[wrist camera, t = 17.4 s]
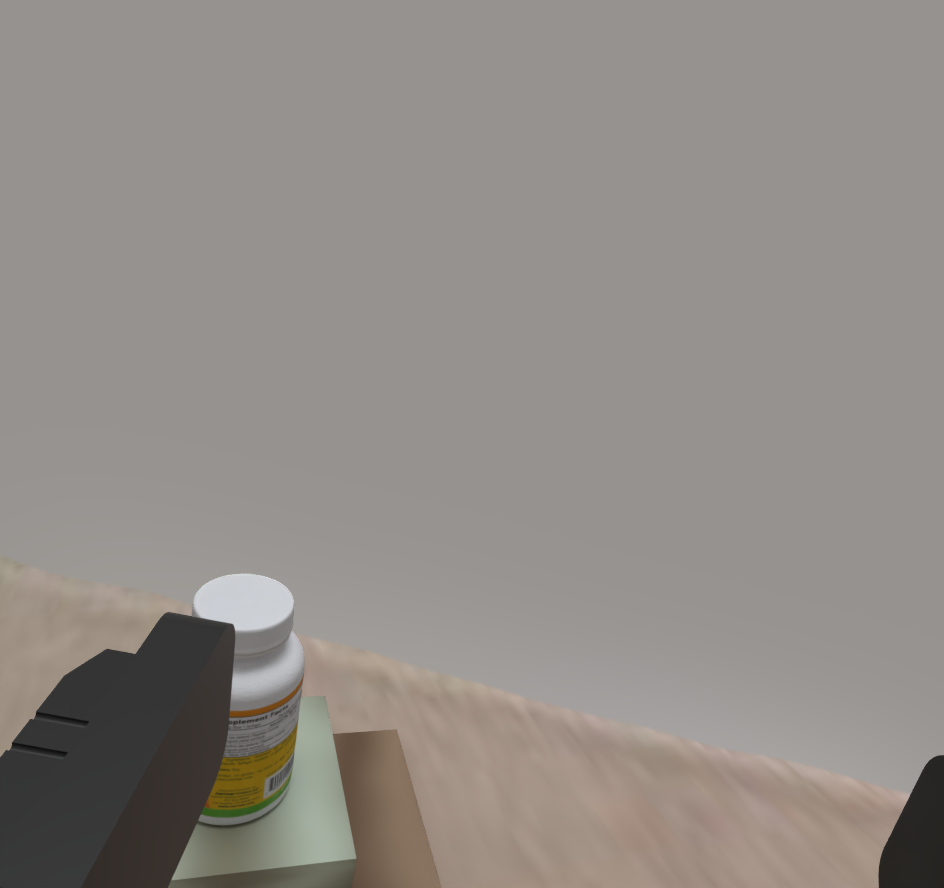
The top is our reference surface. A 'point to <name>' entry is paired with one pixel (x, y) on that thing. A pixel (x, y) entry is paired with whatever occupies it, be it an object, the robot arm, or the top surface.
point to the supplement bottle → (255, 695)
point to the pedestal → (323, 821)
